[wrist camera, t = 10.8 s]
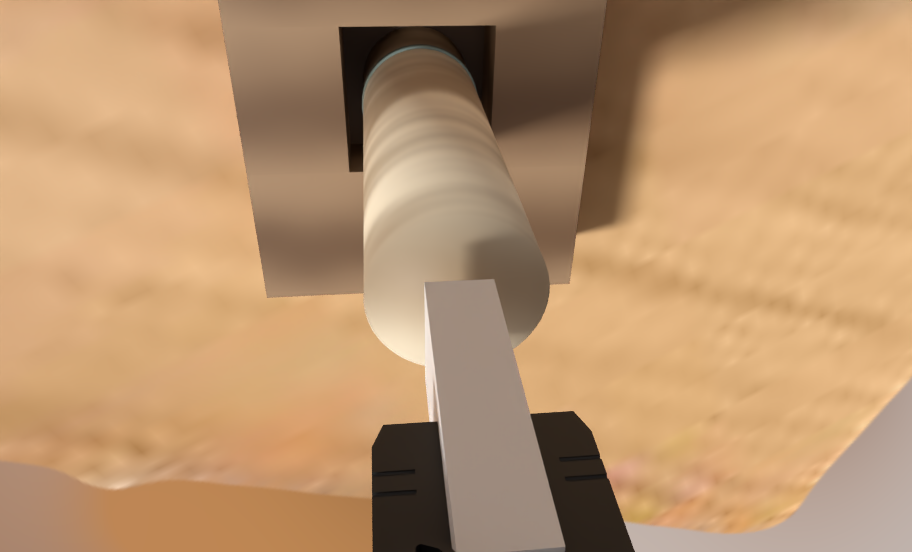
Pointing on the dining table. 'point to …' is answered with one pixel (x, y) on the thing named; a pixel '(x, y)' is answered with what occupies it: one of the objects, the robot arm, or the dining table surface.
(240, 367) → the dining table surface
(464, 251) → the peg
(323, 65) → the board
